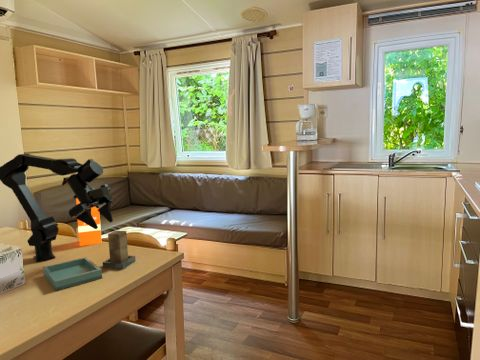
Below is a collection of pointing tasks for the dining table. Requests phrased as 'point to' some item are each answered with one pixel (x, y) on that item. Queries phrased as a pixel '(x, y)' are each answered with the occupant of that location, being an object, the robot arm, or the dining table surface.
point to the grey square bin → (119, 265)
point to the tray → (72, 273)
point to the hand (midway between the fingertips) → (104, 225)
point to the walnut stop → (118, 246)
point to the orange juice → (90, 229)
